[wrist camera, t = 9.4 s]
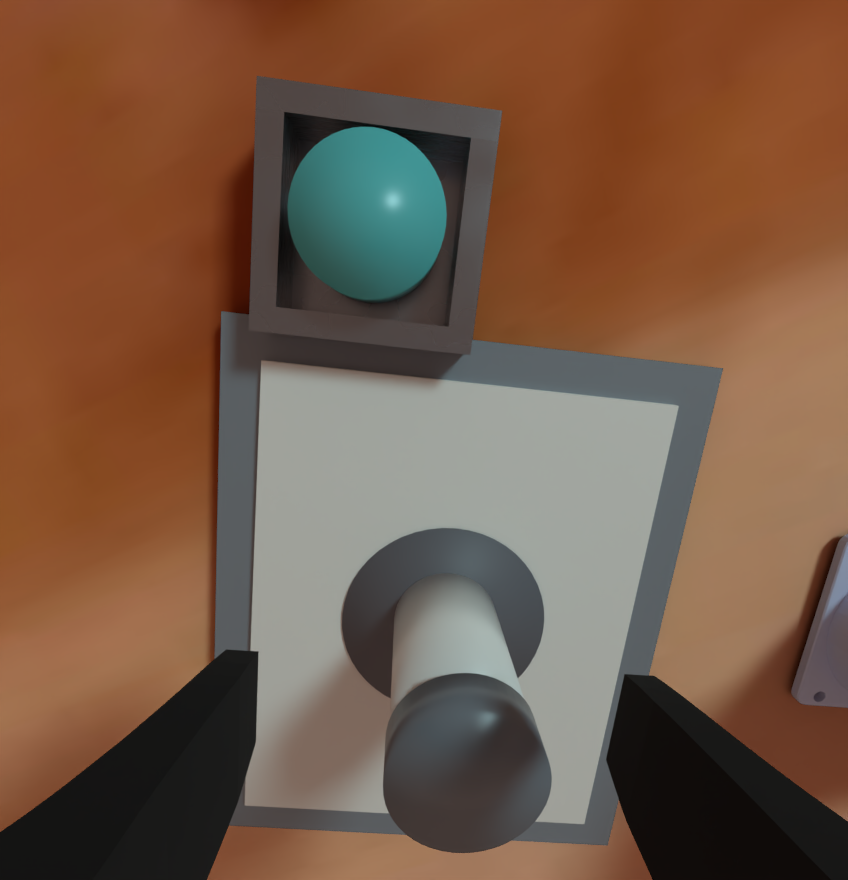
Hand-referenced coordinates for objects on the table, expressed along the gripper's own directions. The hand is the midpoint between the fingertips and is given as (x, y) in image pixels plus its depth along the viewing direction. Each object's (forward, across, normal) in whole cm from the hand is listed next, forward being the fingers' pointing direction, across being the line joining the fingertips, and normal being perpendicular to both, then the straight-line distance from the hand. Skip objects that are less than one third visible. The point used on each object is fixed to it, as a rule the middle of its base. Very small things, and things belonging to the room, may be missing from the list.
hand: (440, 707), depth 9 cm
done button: (+8, +3, -10) cm, 13 cm away
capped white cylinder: (+9, -1, +4) cm, 10 cm away
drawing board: (+10, -1, +4) cm, 11 cm away
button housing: (+10, +3, -10) cm, 14 cm away
